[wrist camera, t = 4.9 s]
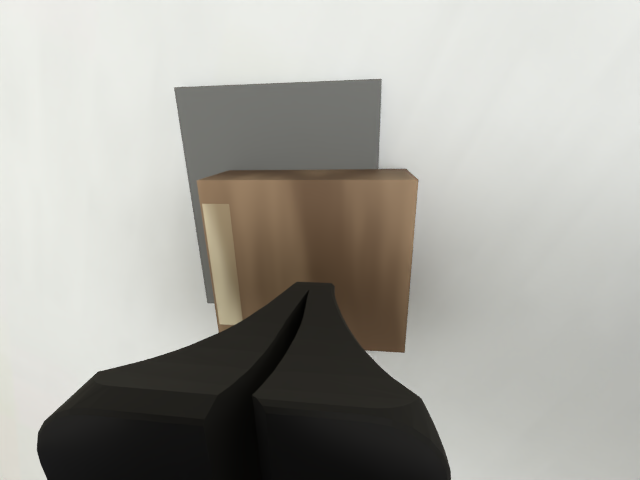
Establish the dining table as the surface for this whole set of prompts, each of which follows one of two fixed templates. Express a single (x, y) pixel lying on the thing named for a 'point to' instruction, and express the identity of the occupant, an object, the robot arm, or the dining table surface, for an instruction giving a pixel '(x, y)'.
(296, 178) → the walnut slab
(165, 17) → the dining table surface
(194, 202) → the rubber mat
